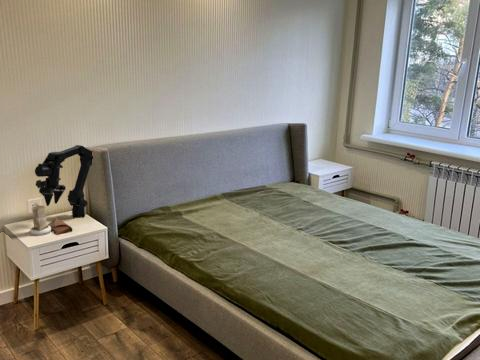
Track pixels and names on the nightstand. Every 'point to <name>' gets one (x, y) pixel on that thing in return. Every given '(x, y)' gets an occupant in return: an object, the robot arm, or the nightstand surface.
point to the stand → (42, 232)
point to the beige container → (39, 218)
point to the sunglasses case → (59, 227)
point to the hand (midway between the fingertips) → (51, 204)
